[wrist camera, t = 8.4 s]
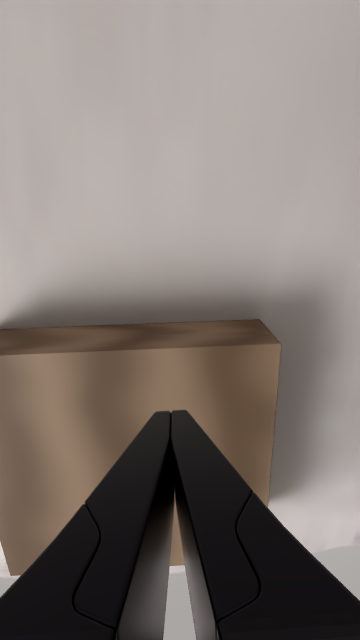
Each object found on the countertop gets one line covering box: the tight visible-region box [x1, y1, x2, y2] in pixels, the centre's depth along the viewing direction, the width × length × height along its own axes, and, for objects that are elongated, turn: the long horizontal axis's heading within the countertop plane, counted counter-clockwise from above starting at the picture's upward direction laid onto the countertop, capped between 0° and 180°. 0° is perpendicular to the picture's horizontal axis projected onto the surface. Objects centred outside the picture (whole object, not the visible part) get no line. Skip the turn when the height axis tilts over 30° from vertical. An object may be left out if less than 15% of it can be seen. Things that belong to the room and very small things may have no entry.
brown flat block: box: [0, 319, 281, 576], centre depth 20 cm, size 17×16×4 cm
